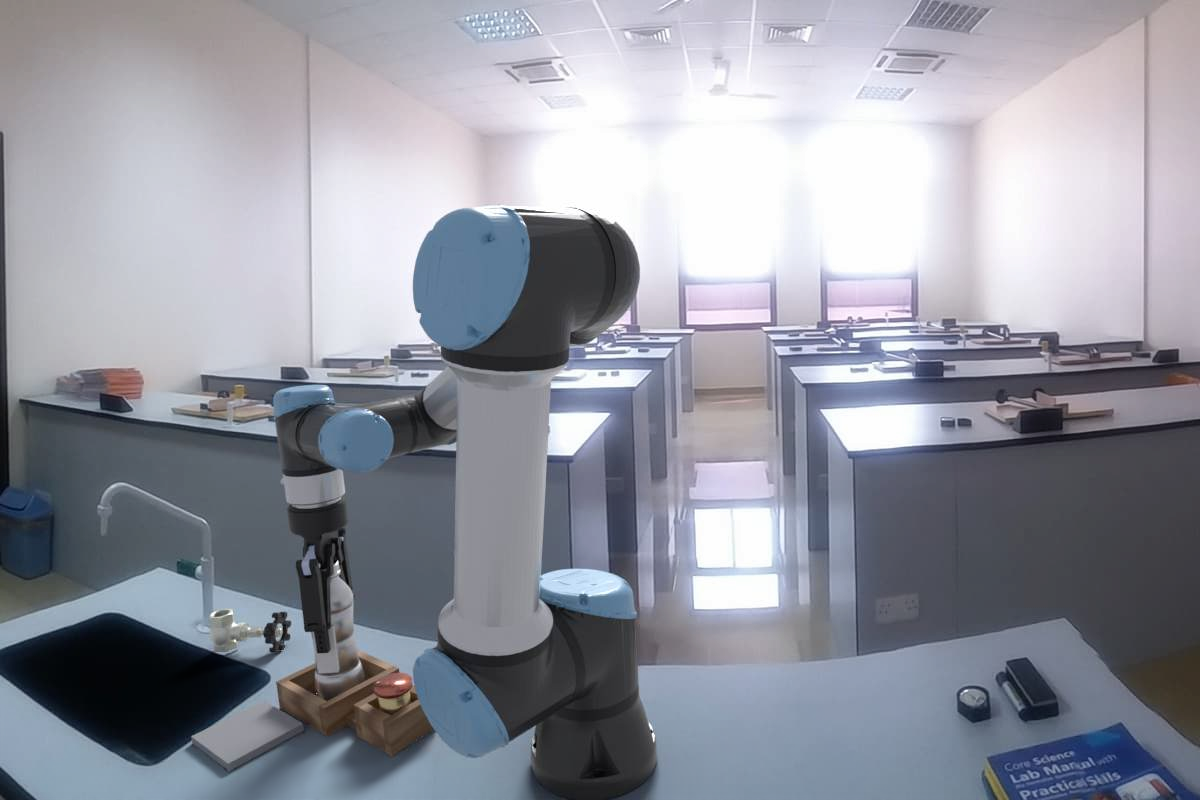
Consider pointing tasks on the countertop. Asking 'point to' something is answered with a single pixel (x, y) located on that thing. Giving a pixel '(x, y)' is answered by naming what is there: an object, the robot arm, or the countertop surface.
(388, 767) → the countertop surface
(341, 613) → the plastic bottle
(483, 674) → the robot arm
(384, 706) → the copper-capped cylinder
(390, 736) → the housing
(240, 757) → the pad
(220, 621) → the valve
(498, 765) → the countertop surface
